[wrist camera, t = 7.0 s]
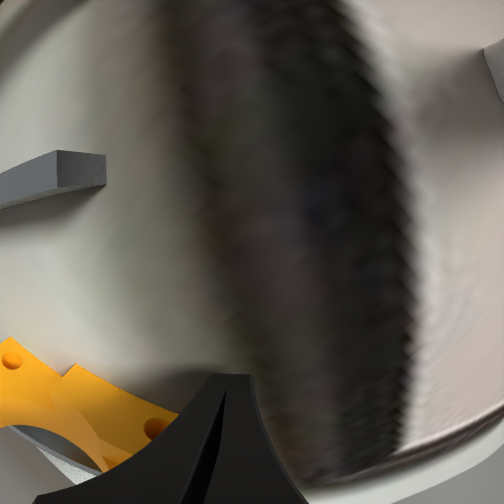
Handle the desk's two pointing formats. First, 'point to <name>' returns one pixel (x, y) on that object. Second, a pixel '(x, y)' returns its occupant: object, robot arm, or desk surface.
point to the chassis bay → (35, 187)
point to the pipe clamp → (76, 407)
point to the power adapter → (496, 65)
